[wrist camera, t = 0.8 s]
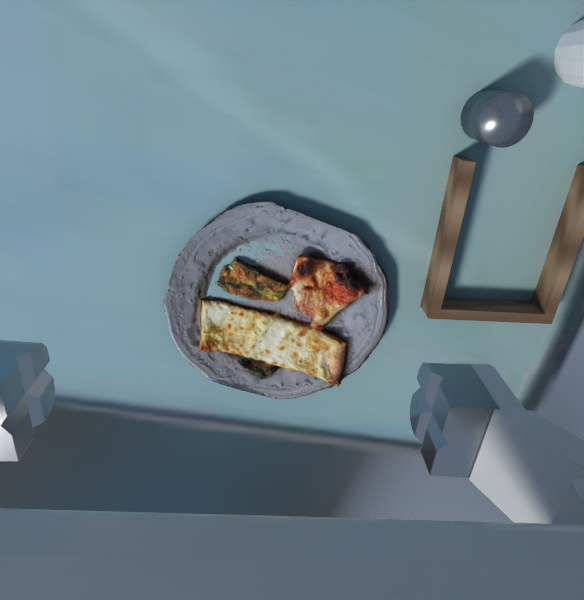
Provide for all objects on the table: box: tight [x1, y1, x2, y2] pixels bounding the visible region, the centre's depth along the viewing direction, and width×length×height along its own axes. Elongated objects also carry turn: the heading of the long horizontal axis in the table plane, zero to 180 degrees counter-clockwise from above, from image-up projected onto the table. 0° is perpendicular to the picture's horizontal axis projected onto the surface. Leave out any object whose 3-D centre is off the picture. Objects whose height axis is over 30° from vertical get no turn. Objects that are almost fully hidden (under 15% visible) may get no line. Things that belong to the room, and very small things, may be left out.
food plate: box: [164, 201, 389, 399], centre depth 52 cm, size 25×23×4 cm
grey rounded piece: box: [461, 89, 534, 147], centre depth 43 cm, size 5×5×5 cm
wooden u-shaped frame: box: [421, 156, 584, 324], centre depth 50 cm, size 17×14×3 cm
